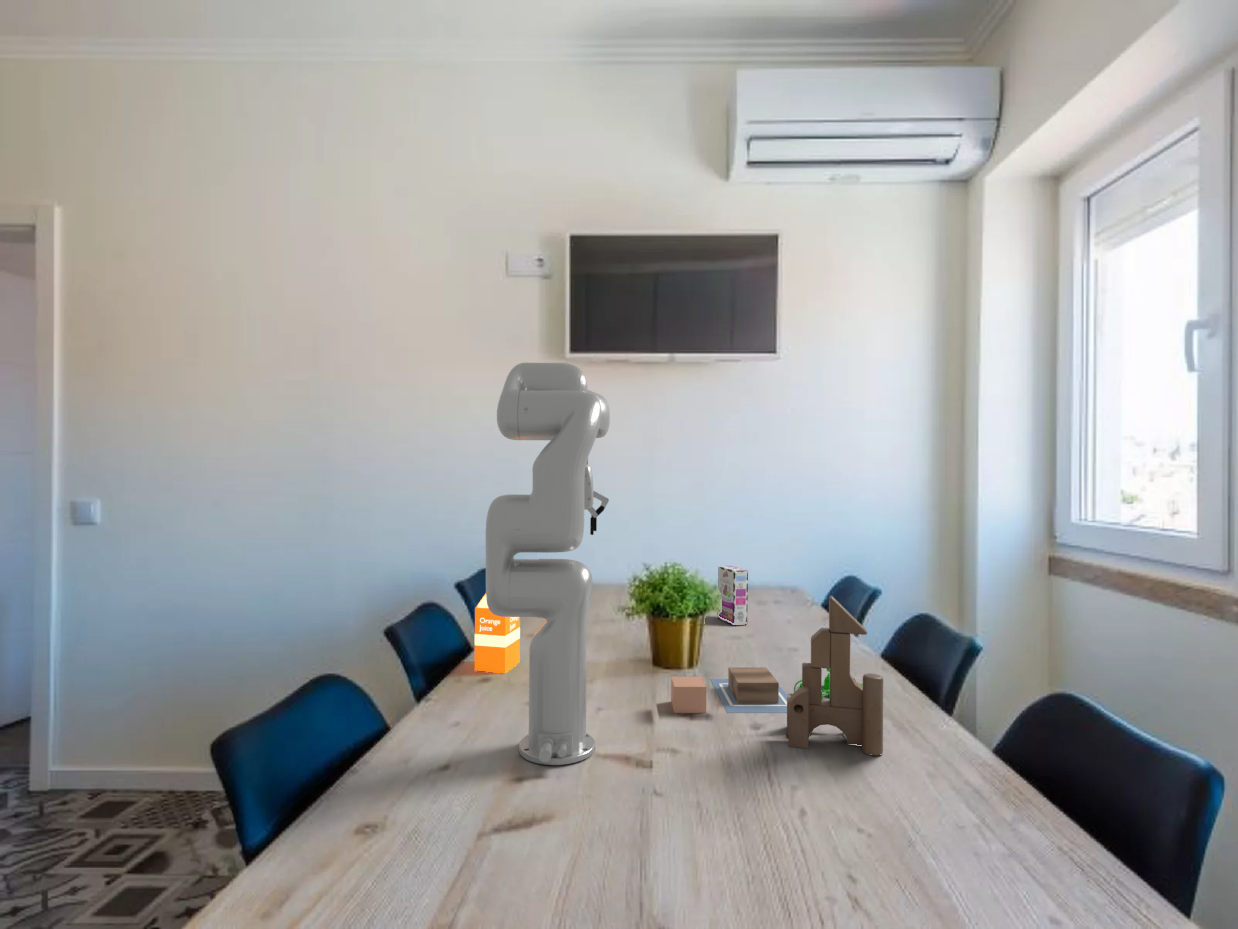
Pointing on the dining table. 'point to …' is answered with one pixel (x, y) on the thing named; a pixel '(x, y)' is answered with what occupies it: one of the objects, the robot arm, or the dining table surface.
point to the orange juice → (495, 640)
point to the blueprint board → (735, 707)
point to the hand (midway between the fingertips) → (571, 534)
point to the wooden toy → (837, 689)
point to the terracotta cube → (688, 695)
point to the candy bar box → (733, 593)
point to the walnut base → (753, 685)
